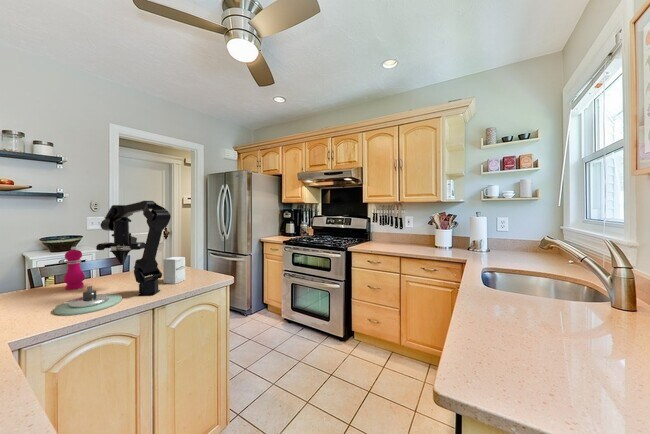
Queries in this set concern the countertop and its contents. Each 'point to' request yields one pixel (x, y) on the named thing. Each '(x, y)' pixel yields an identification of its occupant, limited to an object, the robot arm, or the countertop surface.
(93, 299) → the dial
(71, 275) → the pepper mill
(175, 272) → the supplement box
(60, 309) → the dial plate
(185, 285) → the countertop surface
